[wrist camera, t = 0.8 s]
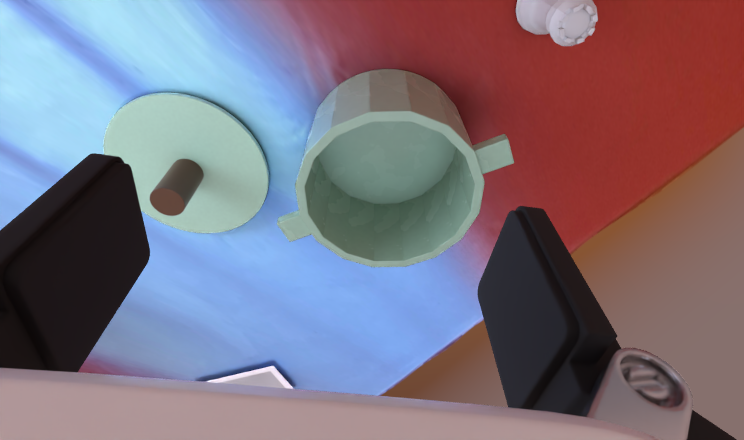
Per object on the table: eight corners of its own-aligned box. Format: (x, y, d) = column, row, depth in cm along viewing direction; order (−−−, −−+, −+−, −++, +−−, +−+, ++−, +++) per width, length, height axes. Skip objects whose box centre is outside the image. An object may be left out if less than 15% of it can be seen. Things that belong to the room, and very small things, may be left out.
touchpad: (193, 378, 69) (189, 390, 67) (274, 359, 66) (271, 371, 64) (220, 402, 73) (216, 414, 71) (297, 385, 70) (295, 397, 68)
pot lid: (72, 129, 42) (28, 162, 37) (207, 61, 38) (180, 87, 33) (180, 244, 51) (157, 284, 46) (298, 199, 47) (288, 237, 42)
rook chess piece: (502, 12, 36) (531, 35, 29) (542, -40, 33) (582, -27, 27) (540, 42, 37) (575, 70, 31) (580, -6, 35) (626, 14, 28)
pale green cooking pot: (258, 118, 41) (231, 169, 33) (463, 27, 36) (489, 61, 28) (329, 230, 50) (321, 292, 42) (503, 170, 45) (532, 227, 37)
